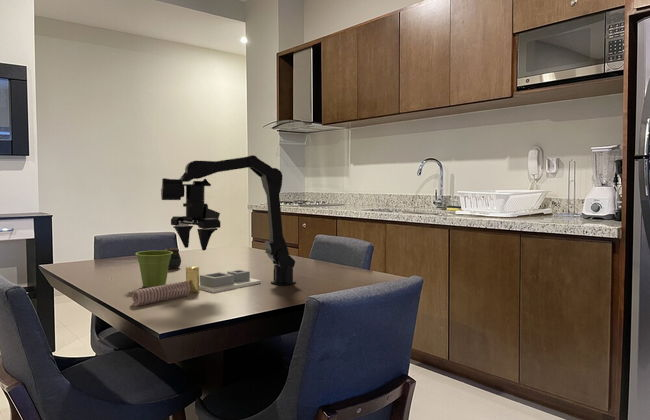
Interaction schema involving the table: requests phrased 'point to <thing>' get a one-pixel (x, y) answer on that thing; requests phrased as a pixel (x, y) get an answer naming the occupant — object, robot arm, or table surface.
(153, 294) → the coil
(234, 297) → the table surface
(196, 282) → the cylinder
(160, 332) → the table surface
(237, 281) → the fitting board
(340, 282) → the table surface
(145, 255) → the plant pot
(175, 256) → the mate gourd
